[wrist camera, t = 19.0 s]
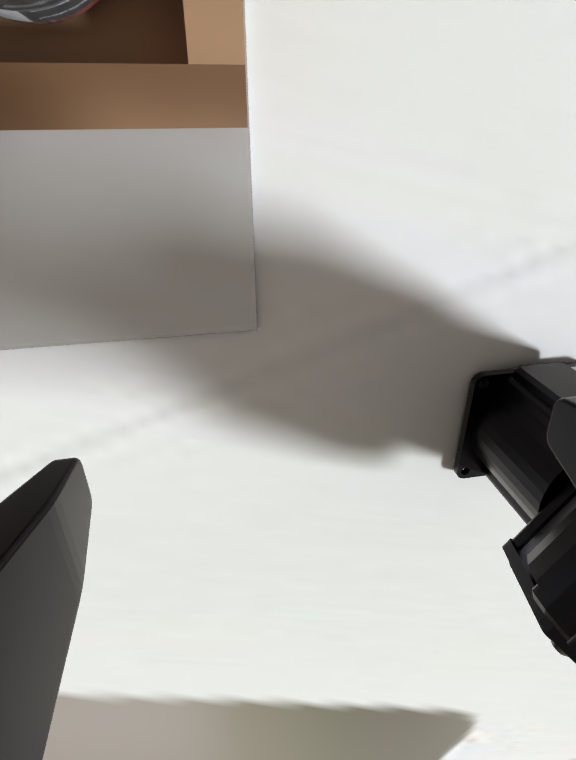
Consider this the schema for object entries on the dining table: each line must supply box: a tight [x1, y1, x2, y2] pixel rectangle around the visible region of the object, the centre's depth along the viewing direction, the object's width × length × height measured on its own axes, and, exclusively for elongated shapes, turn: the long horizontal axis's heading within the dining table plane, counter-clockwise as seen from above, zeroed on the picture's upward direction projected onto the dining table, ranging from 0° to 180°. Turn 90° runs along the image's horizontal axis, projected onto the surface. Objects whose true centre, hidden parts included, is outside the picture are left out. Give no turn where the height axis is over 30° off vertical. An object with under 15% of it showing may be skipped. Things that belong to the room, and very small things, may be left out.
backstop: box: [0, 0, 257, 350], centre depth 13 cm, size 21×16×6 cm
